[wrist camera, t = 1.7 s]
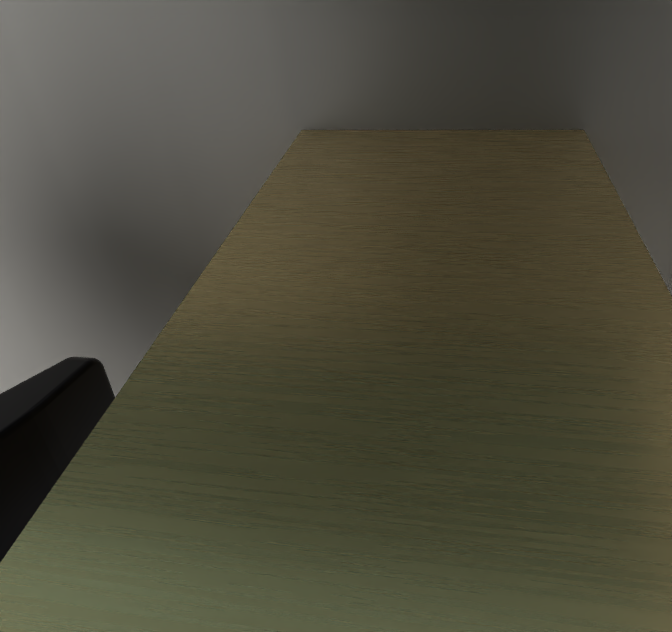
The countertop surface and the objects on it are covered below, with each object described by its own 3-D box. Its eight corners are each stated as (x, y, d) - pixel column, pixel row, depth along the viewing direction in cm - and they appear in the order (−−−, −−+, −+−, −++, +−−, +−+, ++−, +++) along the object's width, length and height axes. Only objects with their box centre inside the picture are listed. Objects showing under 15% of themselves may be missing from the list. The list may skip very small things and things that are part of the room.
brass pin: (541, 356, 12) (663, 1057, 5) (320, 342, 13) (134, 923, 6) (583, 130, 9) (1006, 930, 2) (301, 129, 10) (-102, 708, 3)
